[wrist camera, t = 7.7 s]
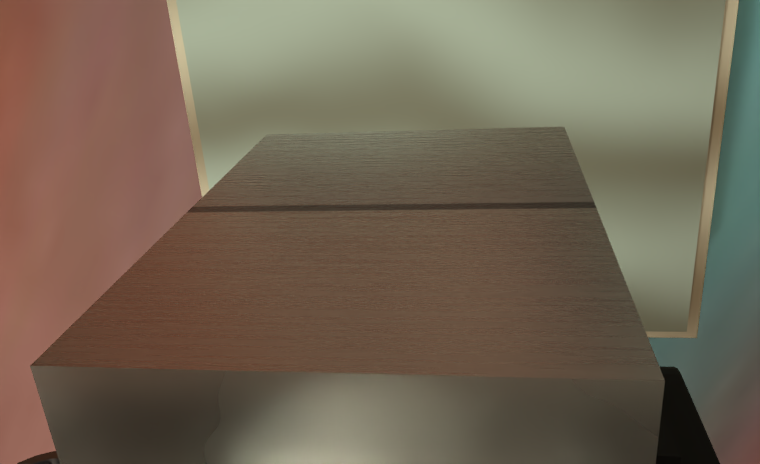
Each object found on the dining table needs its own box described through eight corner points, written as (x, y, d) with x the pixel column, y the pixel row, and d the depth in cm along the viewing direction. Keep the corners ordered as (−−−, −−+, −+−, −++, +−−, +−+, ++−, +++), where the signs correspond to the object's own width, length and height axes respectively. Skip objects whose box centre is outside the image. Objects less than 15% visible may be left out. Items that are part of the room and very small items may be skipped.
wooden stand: (672, 291, 29) (699, 343, 26) (252, 290, 32) (223, 338, 28) (719, -147, 23) (763, -160, 19) (190, -102, 26) (142, -105, 22)
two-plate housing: (564, 126, 11) (663, 381, 5) (551, 466, 14) (605, 906, 8) (266, 135, 12) (30, 366, 6) (308, 456, 15) (179, 852, 9)
